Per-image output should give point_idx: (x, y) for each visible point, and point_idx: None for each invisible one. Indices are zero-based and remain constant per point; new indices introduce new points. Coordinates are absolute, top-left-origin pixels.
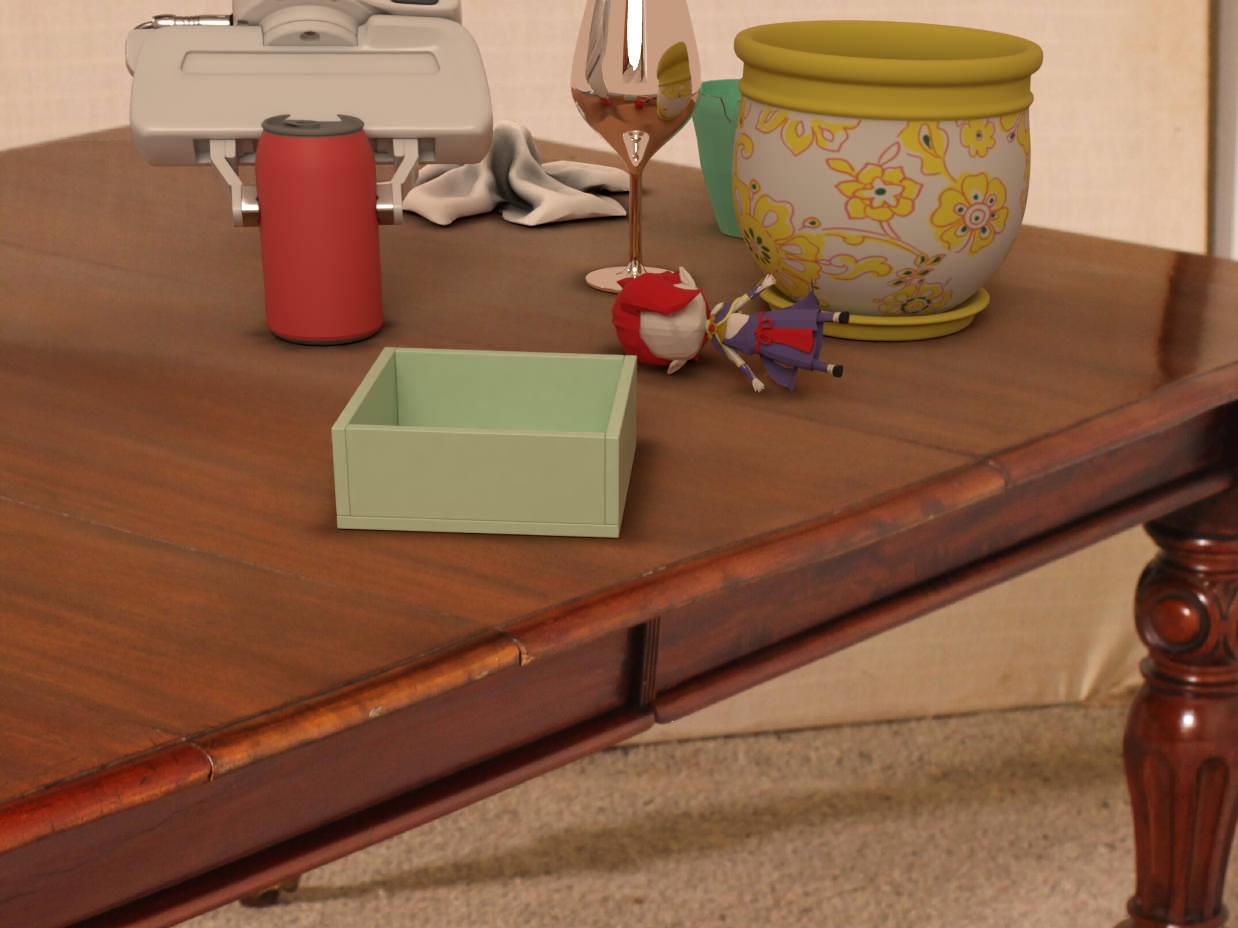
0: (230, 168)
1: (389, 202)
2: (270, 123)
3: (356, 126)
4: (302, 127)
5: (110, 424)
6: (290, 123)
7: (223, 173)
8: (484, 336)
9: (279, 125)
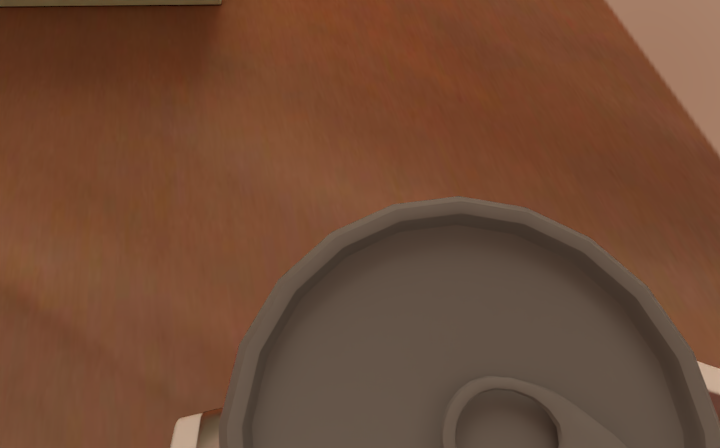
0: (712, 389)
1: (210, 424)
2: (687, 446)
3: (239, 355)
4: (513, 406)
5: (514, 13)
6: (579, 412)
7: (715, 369)
8: (120, 430)
9: (638, 443)
